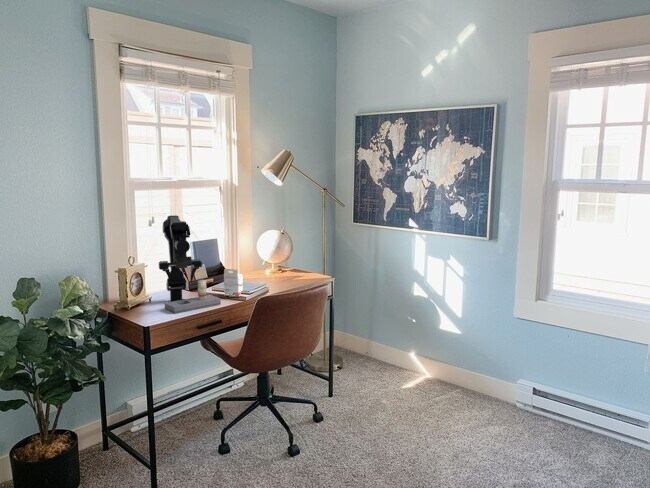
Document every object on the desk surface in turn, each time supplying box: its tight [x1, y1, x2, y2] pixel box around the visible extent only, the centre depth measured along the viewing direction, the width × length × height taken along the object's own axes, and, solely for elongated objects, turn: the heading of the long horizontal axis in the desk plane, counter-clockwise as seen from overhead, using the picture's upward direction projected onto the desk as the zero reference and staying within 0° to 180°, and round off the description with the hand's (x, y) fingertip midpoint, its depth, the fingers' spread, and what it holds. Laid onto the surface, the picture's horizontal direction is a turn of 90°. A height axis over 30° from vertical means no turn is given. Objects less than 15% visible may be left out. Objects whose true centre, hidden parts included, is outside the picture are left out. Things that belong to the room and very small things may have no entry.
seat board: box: [164, 294, 222, 315], centre depth 251 cm, size 10×24×3 cm, turn 133°
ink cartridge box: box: [223, 268, 244, 296], centre depth 270 cm, size 9×5×15 cm, turn 68°
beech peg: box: [197, 279, 208, 300], centre depth 253 cm, size 4×4×9 cm
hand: (181, 282), depth 242 cm, fingers open, 9 cm apart
